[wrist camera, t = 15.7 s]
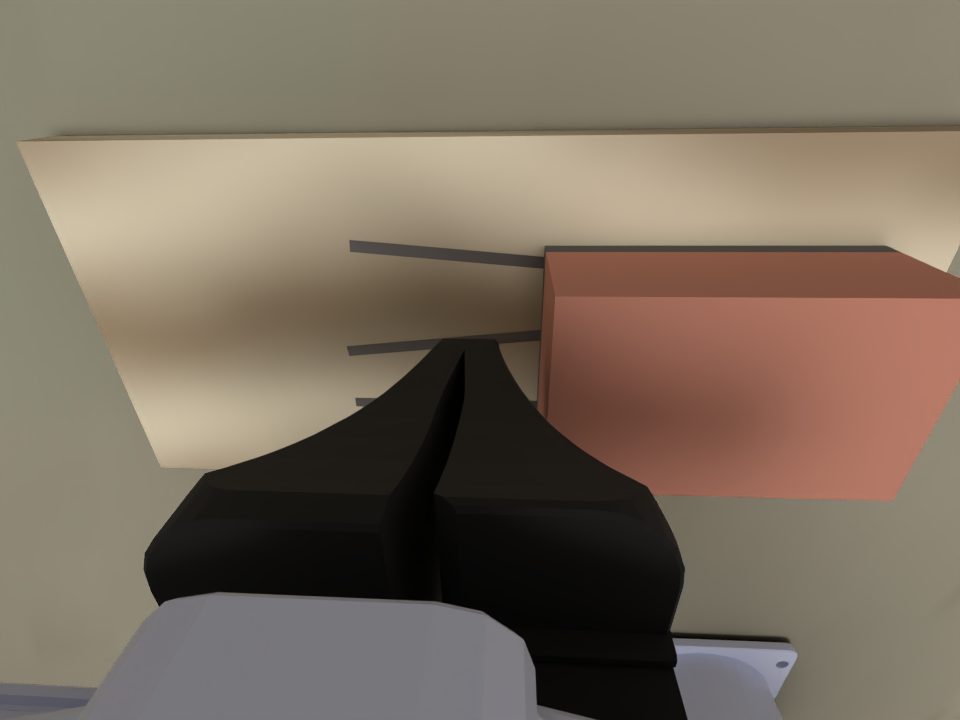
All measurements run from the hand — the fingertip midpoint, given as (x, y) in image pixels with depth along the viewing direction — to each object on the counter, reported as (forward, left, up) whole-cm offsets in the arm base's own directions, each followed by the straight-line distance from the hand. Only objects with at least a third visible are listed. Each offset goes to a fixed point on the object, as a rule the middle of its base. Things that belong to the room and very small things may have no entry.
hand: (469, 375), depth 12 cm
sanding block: (0, -6, -2) cm, 6 cm away
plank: (0, 0, -3) cm, 3 cm away
